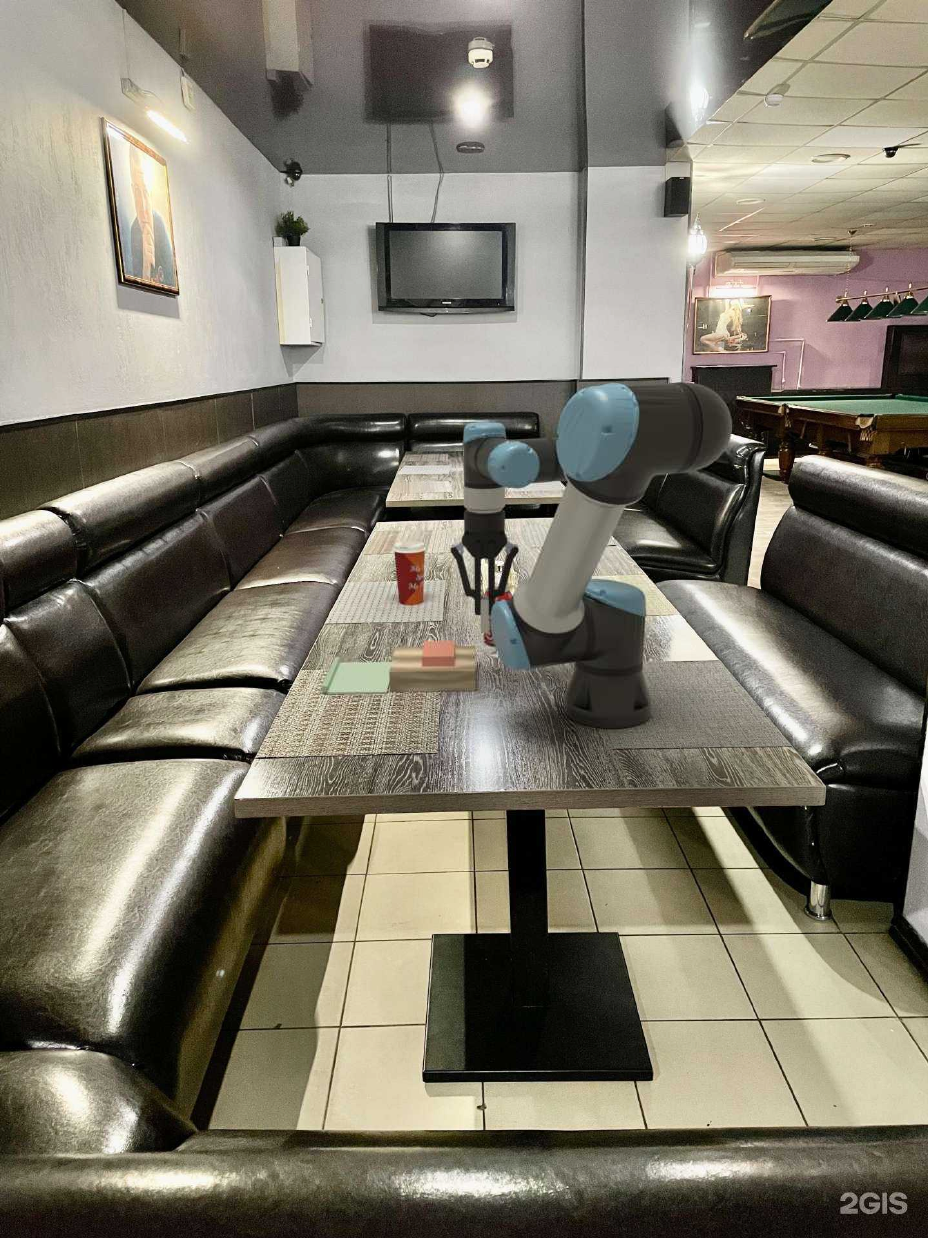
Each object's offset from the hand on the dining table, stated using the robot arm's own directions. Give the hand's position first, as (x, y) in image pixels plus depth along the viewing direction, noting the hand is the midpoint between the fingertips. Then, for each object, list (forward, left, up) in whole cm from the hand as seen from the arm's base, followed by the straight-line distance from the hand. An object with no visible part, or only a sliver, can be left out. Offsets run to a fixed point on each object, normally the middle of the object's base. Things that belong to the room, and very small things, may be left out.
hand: (484, 630), depth 167 cm
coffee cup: (+53, +18, -10) cm, 56 cm away
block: (0, +9, -5) cm, 10 cm away
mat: (0, +24, -9) cm, 26 cm away
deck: (0, +10, -9) cm, 14 cm away
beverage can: (+21, -3, -10) cm, 23 cm away
